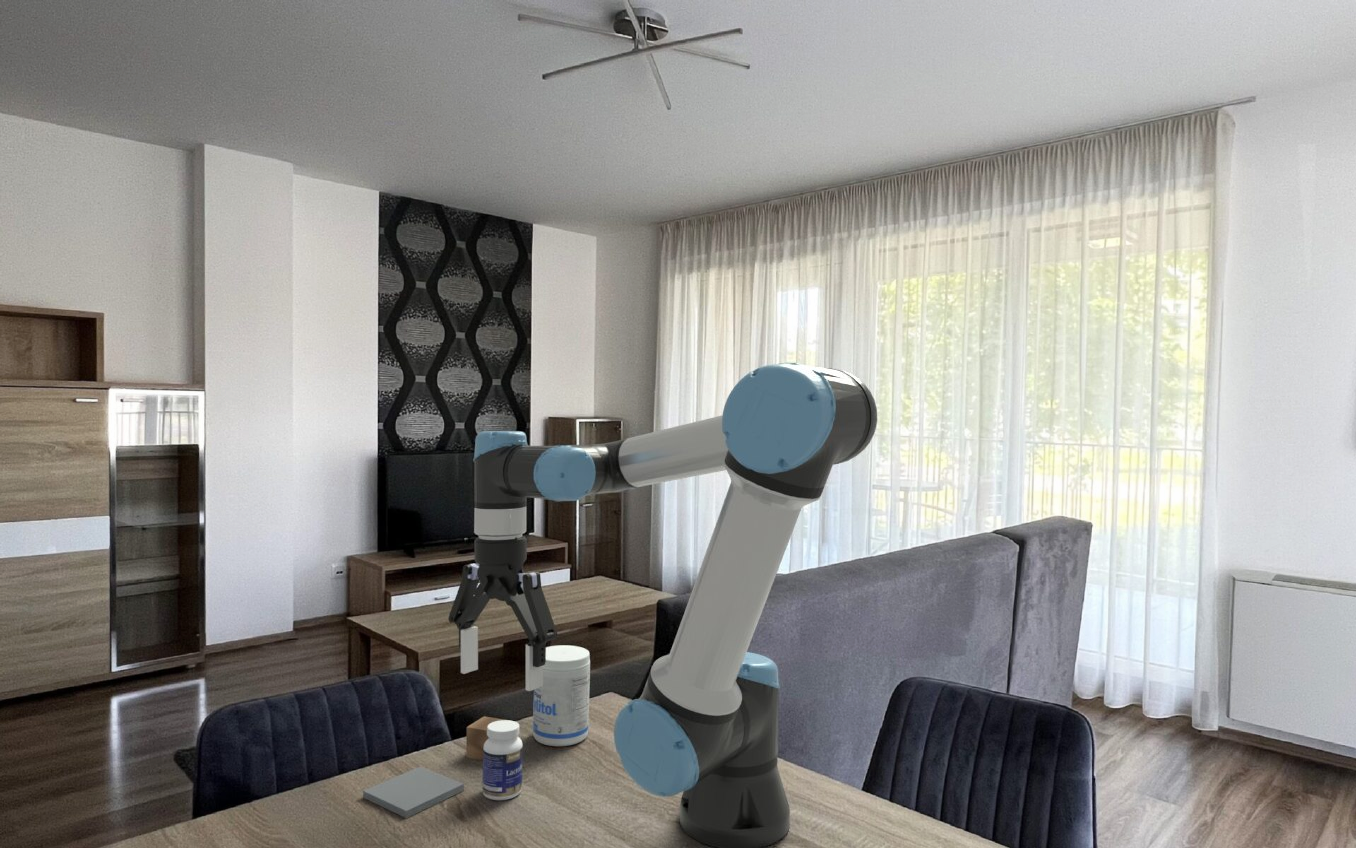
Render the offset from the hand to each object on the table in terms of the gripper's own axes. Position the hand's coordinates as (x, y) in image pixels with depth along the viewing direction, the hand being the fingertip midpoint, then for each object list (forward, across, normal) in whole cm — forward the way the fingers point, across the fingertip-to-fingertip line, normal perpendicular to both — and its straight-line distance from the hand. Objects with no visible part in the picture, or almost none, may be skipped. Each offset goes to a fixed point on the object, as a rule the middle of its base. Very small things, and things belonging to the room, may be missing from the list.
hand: (500, 679), depth 119 cm
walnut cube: (+17, +12, -8) cm, 22 cm away
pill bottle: (+17, 0, 0) cm, 17 cm away
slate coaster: (+16, +10, +8) cm, 21 cm away
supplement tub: (+17, +6, -20) cm, 27 cm away
